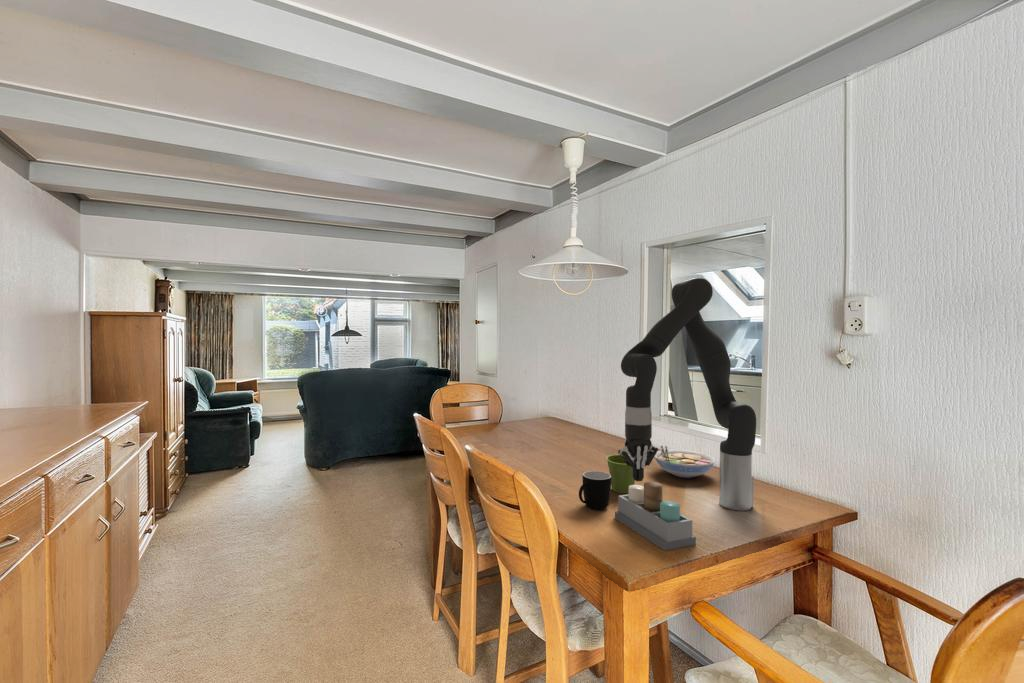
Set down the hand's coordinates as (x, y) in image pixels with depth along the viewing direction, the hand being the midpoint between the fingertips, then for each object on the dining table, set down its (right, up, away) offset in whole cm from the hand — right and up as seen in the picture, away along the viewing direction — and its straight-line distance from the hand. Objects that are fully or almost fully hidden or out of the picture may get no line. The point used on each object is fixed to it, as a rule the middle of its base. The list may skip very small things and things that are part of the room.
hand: (638, 480), depth 132 cm
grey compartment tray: (+2, -12, -6) cm, 14 cm away
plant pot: (+2, -12, +26) cm, 28 cm away
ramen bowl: (+30, -12, +44) cm, 55 cm away
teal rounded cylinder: (+5, -9, -13) cm, 16 cm away
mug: (-11, -12, +10) cm, 19 cm away
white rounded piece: (0, -9, 0) cm, 9 cm away
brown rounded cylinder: (+2, -6, -6) cm, 9 cm away
